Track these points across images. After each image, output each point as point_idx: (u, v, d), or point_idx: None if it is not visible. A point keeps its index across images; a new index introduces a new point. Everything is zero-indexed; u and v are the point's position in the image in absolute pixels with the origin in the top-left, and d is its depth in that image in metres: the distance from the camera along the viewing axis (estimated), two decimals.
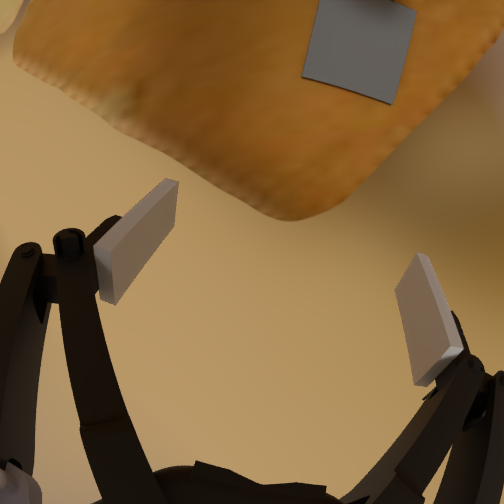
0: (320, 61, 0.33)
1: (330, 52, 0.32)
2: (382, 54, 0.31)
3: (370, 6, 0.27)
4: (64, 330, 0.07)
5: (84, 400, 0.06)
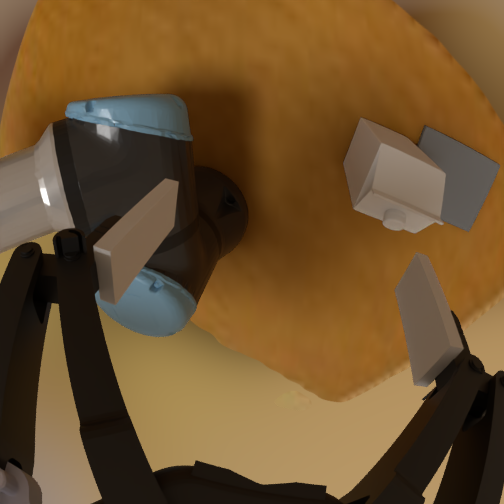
0: (462, 216, 0.40)
1: (457, 208, 0.40)
2: (464, 167, 0.36)
3: None
4: (64, 330, 0.07)
5: (84, 400, 0.06)
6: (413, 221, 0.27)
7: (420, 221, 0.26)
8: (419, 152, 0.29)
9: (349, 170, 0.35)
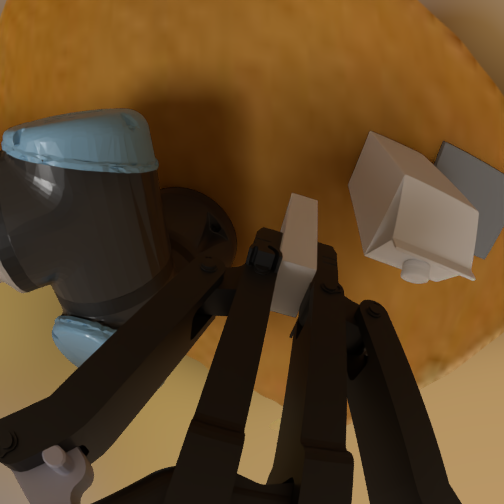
0: (478, 243, 0.35)
1: None
2: (485, 189, 0.30)
3: None
4: (225, 331, 0.09)
5: (210, 399, 0.07)
6: (437, 271, 0.21)
7: (446, 272, 0.20)
8: (444, 179, 0.23)
9: (357, 197, 0.29)
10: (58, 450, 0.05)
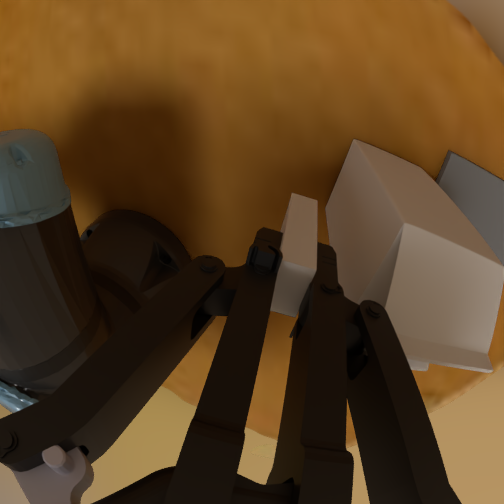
0: None
1: None
2: (497, 210, 0.24)
3: None
4: (225, 331, 0.09)
5: (210, 399, 0.07)
6: None
7: None
8: (455, 213, 0.16)
9: (335, 233, 0.23)
10: (58, 450, 0.05)
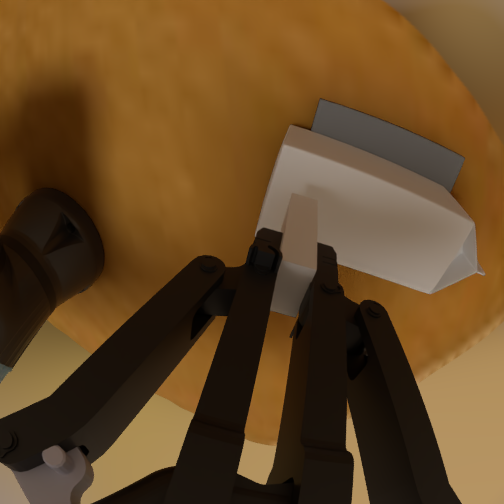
0: None
1: None
2: (398, 163, 0.24)
3: None
4: (225, 331, 0.09)
5: (210, 399, 0.07)
6: None
7: None
8: (401, 169, 0.23)
9: (342, 251, 0.22)
10: (58, 450, 0.05)
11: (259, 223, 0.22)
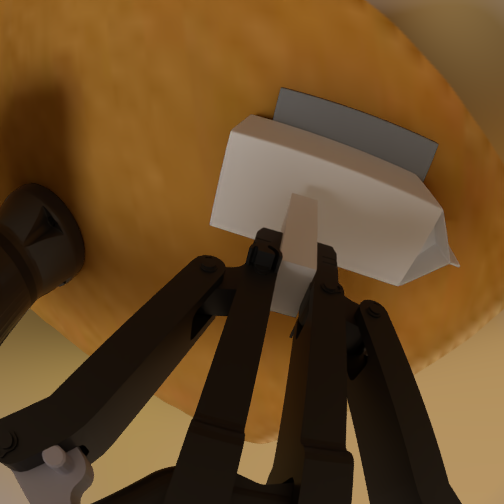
0: None
1: None
2: (364, 150, 0.24)
3: None
4: (225, 331, 0.09)
5: (210, 399, 0.07)
6: None
7: None
8: (367, 156, 0.23)
9: None
10: (58, 450, 0.05)
11: (213, 211, 0.22)
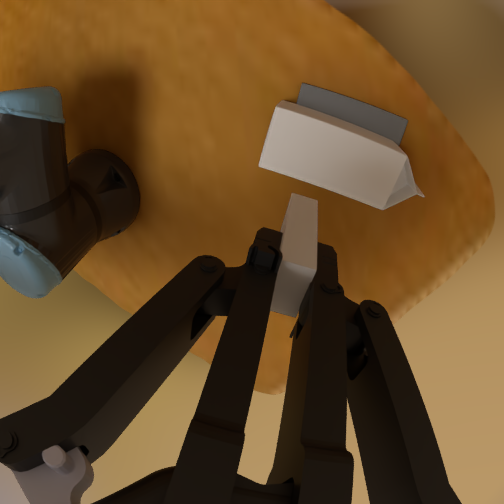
0: None
1: None
2: (357, 124, 0.35)
3: None
4: (225, 331, 0.09)
5: (210, 399, 0.07)
6: None
7: None
8: (358, 127, 0.34)
9: (315, 175, 0.33)
10: (58, 450, 0.05)
11: (261, 157, 0.33)
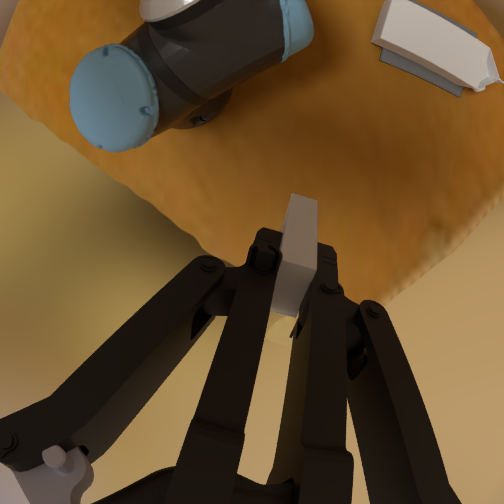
0: None
1: None
2: None
3: None
4: (225, 331, 0.09)
5: (210, 399, 0.07)
6: None
7: None
8: None
9: (427, 51, 0.29)
10: (58, 450, 0.05)
11: (383, 30, 0.29)
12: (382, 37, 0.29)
